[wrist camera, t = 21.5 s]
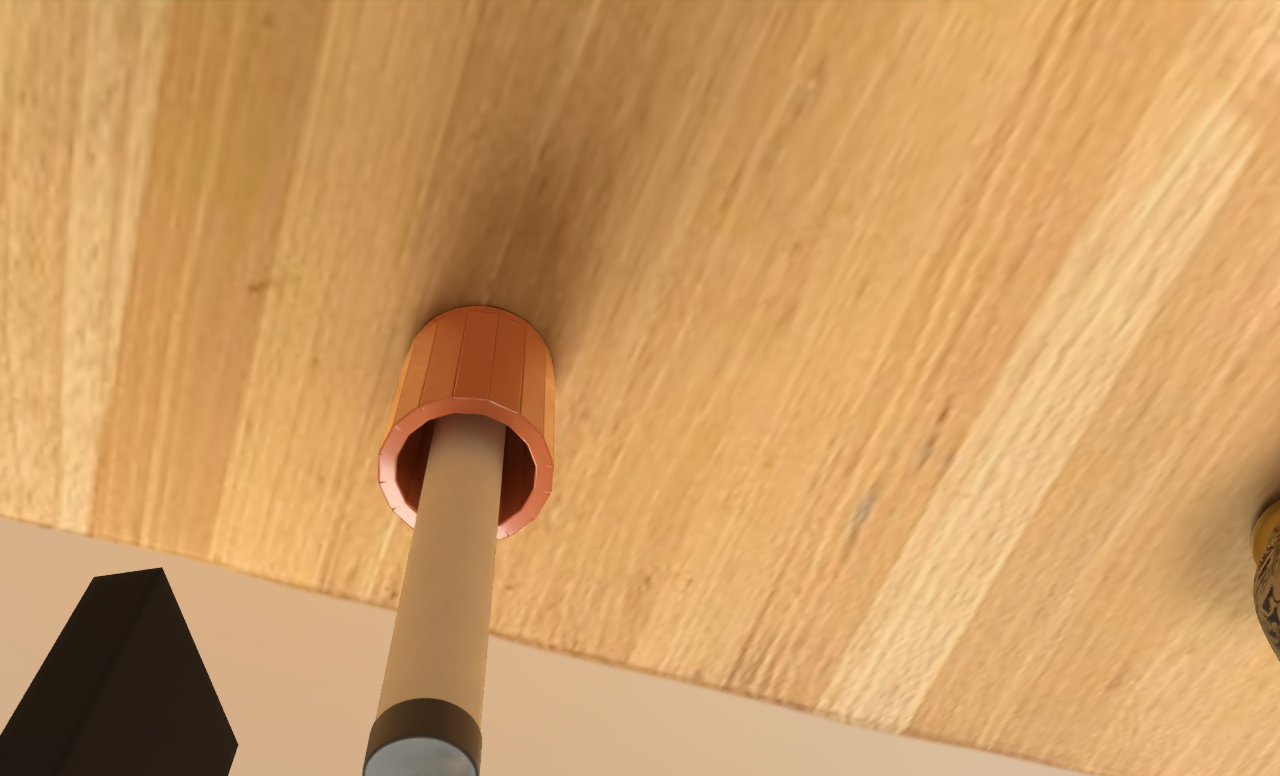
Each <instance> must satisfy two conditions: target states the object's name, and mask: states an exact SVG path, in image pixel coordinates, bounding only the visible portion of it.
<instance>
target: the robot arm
mask: <svg viewBox="0 0 1280 776" xmlns="http://www.w3.org/2000/svg"><path fill="white" fill-rule="evenodd" d="M237 747H238V743H237V741H236V738H235V736H234V734H233V731H232V729H231V727H230V725H229V722H228V720H227V717H226V715H225V713H224V711H223V708H222V706H221V703H220V701H219V699H218V696H217V694H216V692H215V690H214V687H213V685H212V682H211V680H210V678H209V675H208V673H207V671H206V668H205V666H204V664H203V661H202V659H201V657H200V654H199V653H198V650H197V648H196V645H195V643H194V641H193V638H192V636H191V634H190V631H189V629H188V627H187V624H186V622H185V620H184V617H183V615H182V613H181V610H180V608H179V606H178V603H177V601H176V599H175V596H174V594H173V592H172V589H171V587H170V585H169V583H168V580H167V578H166V575H165V573H164V571H163V568H162V567H161V568H154V569H147V570H140V571H134V572H126V573H120V574H112V575H105V576H98V577H94V578H93V579H92V581H91V583H90V584H89V586H88V588H87V590H86V591H85V593H84V595H83V596H82V598H81V600H80V602H79V603H78V605H77V607H76V608H75V610H74V612H73V613H72V615H71V617H70V618H69V620H68V622H67V624H66V625H65V627H64V629H63V630H62V632H61V634H60V635H59V637H58V639H57V640H56V642H55V644H54V646H53V647H52V649H51V651H50V652H49V654H48V656H47V657H46V659H45V661H44V662H43V664H42V666H41V667H40V669H39V671H38V673H37V674H36V676H35V678H34V679H33V681H32V683H31V684H30V686H29V688H28V689H27V691H26V693H25V695H24V696H23V698H22V700H21V701H20V703H19V705H18V706H17V708H16V710H15V711H14V713H13V715H12V717H11V718H10V720H9V722H8V723H7V725H6V727H5V729H4V730H3V732H2V733H1V735H0V776H228V774H229V771H230V768H231V765H232V762H233V759H234V756H235V753H236V750H237Z"/></svg>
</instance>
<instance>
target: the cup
mask: <svg viewBox="0 0 1280 776" xmlns="http://www.w3.org/2000/svg"><path fill="white" fill-rule="evenodd" d="M1251 550H1252V555H1253V558H1254V561H1255V563H1256V565H1257V569H1256V573H1255V578H1254V594H1253V595H1254V603H1255V608H1256V613H1257V616H1258V619H1259V622H1260V624H1261V627H1262V629H1263V631H1264V633H1265V635H1266V637H1267V639H1268V641H1269V643H1270V645H1271V647H1272V649H1273V651H1274V652H1275V654H1276V656H1277V657H1278V659H1279V661H1280V500H1278V501H1277V502H1275V503H1274V504H1272V505H1271V506H1270V507H1269V508H1267V509H1266V510H1265V511H1264V512H1263V514H1262V515H1261V516H1260V517H1259V519H1258V520H1257V522H1256V524H1255V526H1254V528H1253V531H1252V534H1251Z"/></svg>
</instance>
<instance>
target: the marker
mask: <svg viewBox="0 0 1280 776" xmlns="http://www.w3.org/2000/svg"><path fill="white" fill-rule="evenodd" d="M505 434H506V424H503V423H501V422H499V421H497V420H494V419H492V418H490V417H488V416H485V415H478V414H465V413H453V414H449V415H446V416H442V417H438V418H436V422H435V427H434V432H433V437H432V442H431V447H430V452H429V457H428V462H427V466H426V471H425V476H424V481H423V486H422V491H421V496H420V501H419V506H418V511H417V516H416V521H415V526H414V531H413V536H412V541H411V546H410V551H409V556H408V561H407V566H406V571H405V576H404V581H403V586H402V591H401V596H400V601H399V606H398V611H397V616H396V621H395V626H394V631H393V636H392V641H391V646H390V651H389V656H388V661H387V666H386V671H385V676H384V681H383V686H382V691H381V696H380V701H379V705H378V710H377V716H376V720H375V722H374V724H373V727H372V729H371V732H370V737H369V741H368V747H367V751H366V756H365V762H364V766H363V773H362V775H363V776H479V773H480V762H481V749H482V736H481V732H480V730H481V717H482V705H483V694H484V682H485V671H486V659H487V646H488V635H489V623H490V612H491V600H492V588H493V576H494V564H495V553H496V541H497V529H498V517H499V505H500V494H501V482H502V470H503V458H504V446H505Z"/></svg>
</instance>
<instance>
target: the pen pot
mask: <svg viewBox="0 0 1280 776" xmlns="http://www.w3.org/2000/svg"><path fill="white" fill-rule="evenodd" d="M554 393H555V375H554V369H553V362H552V358H551V354H550V352H549V350H548V347H547V345H546V344H545V342H544V340H543V339H542V337H541V336H540V335H539V334H538V332H537V331H536V330H535V329H534V328H533V327H532V326H531V325H530V324H528V323H527V322H526V321H524V320H523V319H521V318H520V317H518V316H516V315H514V314H512V313H510V312H507V311H505V310H502V309H498V308H494V307H487V306H467V307H461V308H456V309H453V310H450V311H447V312H445V313H443V314H441V315H439V316H437V317H435V318H434V319H433V320H431V321H430V322H428V323H427V324H426V325H425V326H424V327H423V328H422V329H421V330H420V331H419V333H418V334H417V335H416V337H415V338H414V340H413V342H412V344H411V346H410V348H409V351H408V354H407V356H406V358H405V360H404V364H403V367H402V371H401V375H400V378H399V382H398V385H397V389H396V393H395V396H394V400H393V403H392V407H391V410H390V414H389V418H388V421H387V425H386V428H385V432H384V435H383V439H382V443H381V446H380V450H379V454H378V481H379V485H380V487H381V489H382V491H383V494H384V496H385V498H386V500H387V502H388V504H389V507H390V508H391V509H392V511H393V512H394V513H395V514H397V515H398V516H399V517H400V518H401V519H402V520H403V521H404V522H405V523H407V524H408V525H409V526H410V527H411V528H412V529H413V530H414V526H415V521H416V516H417V511H418V506H419V501H420V496H421V491H422V486H423V481H424V476H425V471H426V466H427V462H428V457H429V452H430V447H431V442H432V437H433V432H434V427H435V422H436V418H438V417H442V416H446V415H449V414H453V413H465V414H478V415H485V416H488V417H490V418H492V419H494V420H497V421H499V422H501V423H503V424H506V434H505V446H504V458H503V470H502V482H501V494H500V505H499V517H498V529H497V540H500V539H504V538H507V537H509V536H512V535H513V534H515V533H516V532H518V531H519V530H520V529H522V528H523V527H525V526H526V525H528V524H529V523H530V522H532V521H533V520H534V519H535V518H536V517H537V516H538V514H539V512H540V511H541V509H542V507H543V506H544V504H545V502H546V501H547V499H548V498H549V496H550V493H551V491H552V481H553V471H554Z"/></svg>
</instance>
